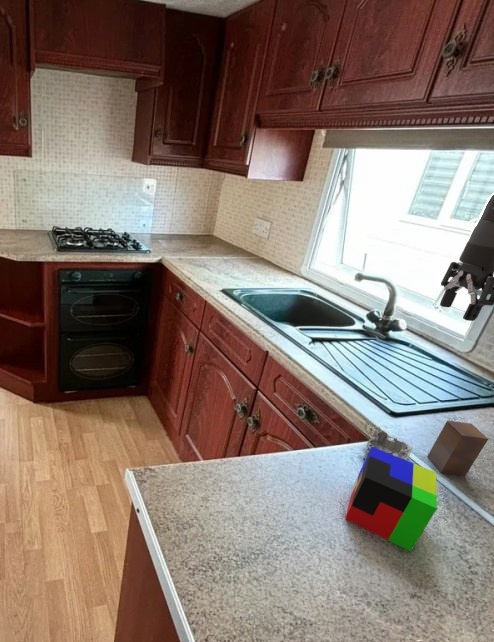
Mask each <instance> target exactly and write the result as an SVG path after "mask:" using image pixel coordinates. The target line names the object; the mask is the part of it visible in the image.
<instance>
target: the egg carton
mask: <svg viewBox="0 0 494 642" xmlns="http://www.w3.org/2000/svg"><path fill="white" fill-rule="evenodd" d="M371 447H374V448H377V449H379V450H382V451H384V452H387V453H389V454H392V455H394V456H397V457H399V458H402V459H404V460H407V461H409V458H410V456H411V453H412V451H413V446H412V445H410V444H407V443H406V442H405V441H400V440H398V438H397V437H394V438H393V439H392V438H390V437H388V432H387V431H385V430H382V429H381V426H378V427H376V429H375V430H374V432H373V433H372V435H371V437H370V438H369V439H368V441H367V443H366V447H365V448H366V449H365V451H364V452H365V454H364V455H363V457H362V458H363V459H364V461H365V460H366V457H367V455H368V453H369V451H370V449H371Z"/></svg>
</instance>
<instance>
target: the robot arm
mask: <svg viewBox="0 0 494 642" xmlns="http://www.w3.org/2000/svg"><path fill="white" fill-rule="evenodd" d="M458 260H459V261H451V262H450V264H449V266H448V268H447V270H446V272H445V274H444V275H443V278H442V280H441V281H440V286H442V287H444V289H443V290H444V293H443V295H442V297H441V299H440V303H439V306H440V307H442V308H451V307H452V306H453V303H454V301H455V299H456V296H457V295H458V291H460V290H461V289H463V288H464V289H465V290H467V294H468V295H470V303H469V304H468V306H467V308H466V310H465V311H464V314H463V316H462V319H463V320H464V321H467V322H468V321H469V322H474V321H475V320H476V319H477V318H478V317H479V314H480V313H481V311H482V309H483V307H484V306H490V307H492V306H494V192H493V193H492V194H491V195H490V196H489V197H488V199H487V201H486V203H485V204H484V207H483V209H482V211H481V213H480V215H479V218H478V220H477V221H476V222H475V225H474V226H473V228H472V230H471V232H470V234H469V236H468V239H467V240H466V243H465V245H464V247H463V250H462V251H461V254H460V256H459V259H458ZM450 278H451V279H450ZM489 295H490V296H489ZM478 296H479V297H478ZM488 296H489V298H488Z"/></svg>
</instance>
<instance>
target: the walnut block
mask: <svg viewBox="0 0 494 642" xmlns="http://www.w3.org/2000/svg"><path fill="white" fill-rule="evenodd" d="M488 441H489V438H488V437H487V436H486V435H485V434H484V433H482V431H480V429H478V428H477V427H476V426H475V425H474V424H473V423H469V422H461V421H456V420H455V421H453V420H446V421H445V424H444V425H443V427H442V429H441V431H440V432H439V434H438V436H437V438H436V440H435V441H434V443H433V445H432V447H431V448H430V451H429V452H428V454H427V455H426V457H427V459H429V461H430V462H431V463H432V464H433V465H434V467H435V468H436V469H437V470H438V472H439V473H440V474H446V475H453V476H461V477H466V475H467V474H468V472H469V471H470V469H471V468H472V467H473V464H474V463H475V461H476V460H477V458H478V457H479V455H480V453H481V452H482V450H483V448H484V447H485V446H486V444H487V442H488Z"/></svg>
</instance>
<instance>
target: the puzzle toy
mask: <svg viewBox="0 0 494 642" xmlns="http://www.w3.org/2000/svg"><path fill="white" fill-rule="evenodd" d="M437 492H438V491H437V472H436V471H434V470H431V469H428V468H426V467H424V466H421V465H419V464H416V463H414V462H412V461H409V460H404V459H402V458H399V457H397V456H394V455H392V454H389V453H387V452H384V451H382V450H379V449H377V448H374V447H371V449H370V451H369V453H368V455H367V457H366V460H365V459H364V462H363V464H362V466H361V468H360V470H359V472H358V474H357V477H356V479H355V481H354V483H353V485H352V489H351V493H350V497H349V500H348V501H349V502H348V506H347V510H346V514H345V519H344V520H346V521H348V522H350V523H352V524H354V525H355V526H359V527H361V528H362V529H364V530H367V531H368V532H370V533H372V534H374V535H377V536H379V537H381V538H382V539H384V540H386V541H389V542H390V543H393V544H395V545H397V546H399V547H401V548H403V549H405V550H406V551H408V552H412V550H413V548H414V547H415V546H416V544H417V542H418V540H419V539H420V537H421V536H422V534H423V532H424V531H425V529H426V527H427V526H428V524H429V523H430V521H431V519H432V518H433V516H434V514H435V513H436V511H437V510H438V497H437V495H438V493H437Z"/></svg>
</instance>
